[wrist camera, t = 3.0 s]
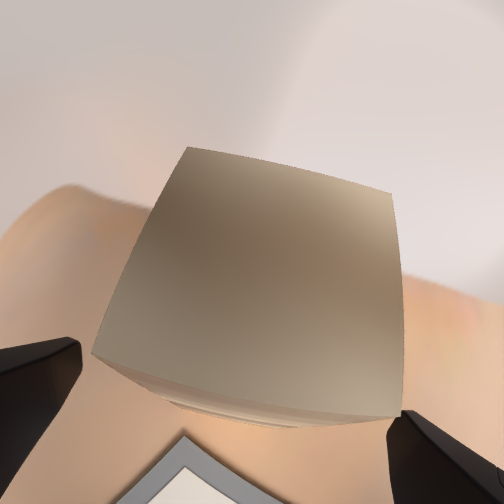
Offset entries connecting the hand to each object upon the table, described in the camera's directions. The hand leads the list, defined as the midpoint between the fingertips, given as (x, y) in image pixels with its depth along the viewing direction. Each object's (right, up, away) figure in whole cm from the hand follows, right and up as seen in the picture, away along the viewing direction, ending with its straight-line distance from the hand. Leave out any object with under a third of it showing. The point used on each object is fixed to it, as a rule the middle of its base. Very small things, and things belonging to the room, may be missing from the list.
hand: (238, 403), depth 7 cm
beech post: (-1, -3, +9) cm, 10 cm away
